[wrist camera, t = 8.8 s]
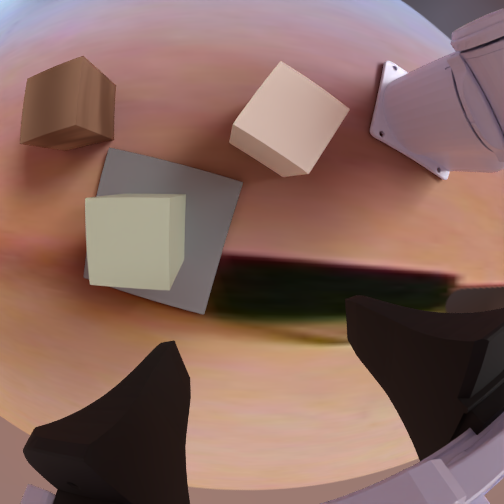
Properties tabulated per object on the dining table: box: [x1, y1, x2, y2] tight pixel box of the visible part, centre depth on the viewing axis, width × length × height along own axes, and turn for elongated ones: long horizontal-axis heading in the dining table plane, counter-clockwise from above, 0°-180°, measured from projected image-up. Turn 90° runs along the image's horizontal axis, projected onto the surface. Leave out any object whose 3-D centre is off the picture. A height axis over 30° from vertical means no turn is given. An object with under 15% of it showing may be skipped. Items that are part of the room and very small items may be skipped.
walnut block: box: [20, 56, 116, 151], centre depth 13 cm, size 4×4×6 cm
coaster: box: [84, 148, 243, 315], centre depth 18 cm, size 10×10×1 cm
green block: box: [85, 194, 186, 291], centre depth 15 cm, size 4×4×6 cm
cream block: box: [229, 61, 350, 177], centre depth 15 cm, size 4×4×6 cm
